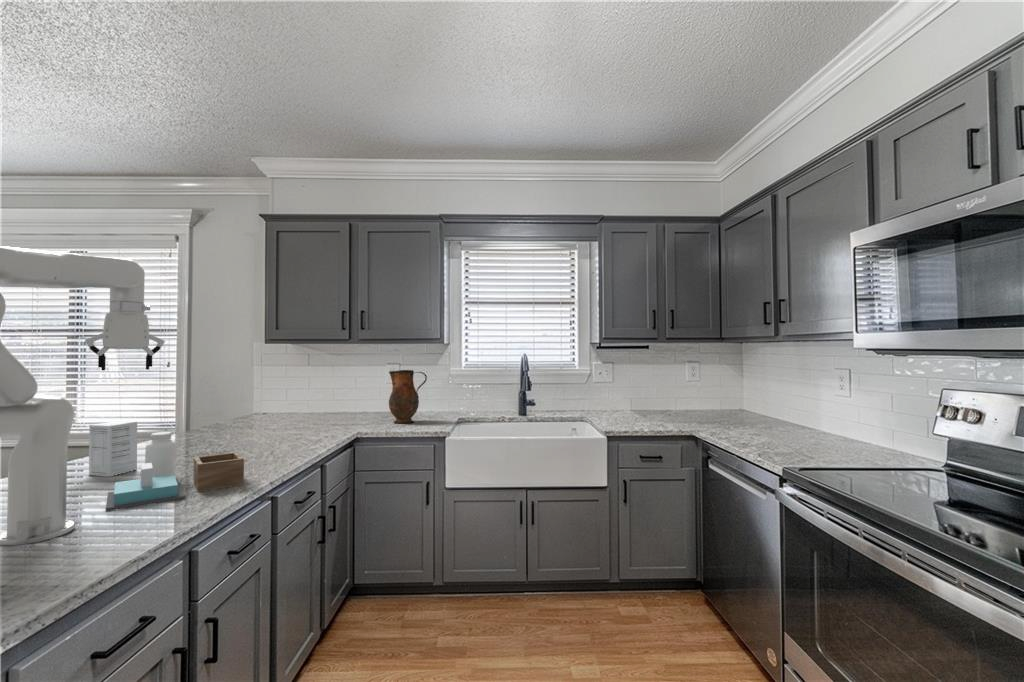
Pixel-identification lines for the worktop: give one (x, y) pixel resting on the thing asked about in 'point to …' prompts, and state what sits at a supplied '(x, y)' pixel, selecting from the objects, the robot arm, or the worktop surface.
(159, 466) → the pill bottle
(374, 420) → the worktop surface
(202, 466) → the crate
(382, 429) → the worktop surface
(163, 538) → the worktop surface
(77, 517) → the worktop surface
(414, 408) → the pitcher
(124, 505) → the mat
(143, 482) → the lid
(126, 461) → the supplement box
